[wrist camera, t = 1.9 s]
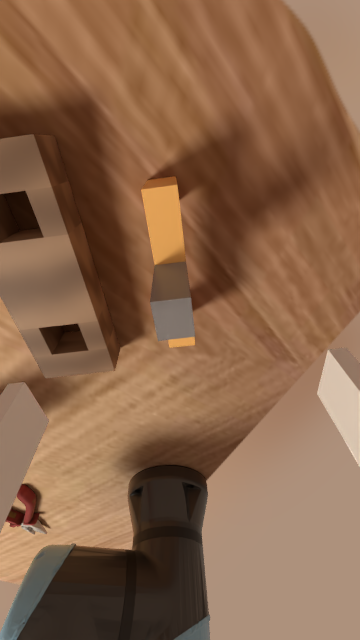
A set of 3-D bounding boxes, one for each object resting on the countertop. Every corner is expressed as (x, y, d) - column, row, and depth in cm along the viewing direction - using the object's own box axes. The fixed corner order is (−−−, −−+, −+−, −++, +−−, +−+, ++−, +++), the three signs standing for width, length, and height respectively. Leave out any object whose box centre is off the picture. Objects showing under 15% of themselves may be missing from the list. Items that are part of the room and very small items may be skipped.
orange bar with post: (191, 312, 31) (201, 392, 21) (169, 314, 31) (169, 396, 21) (175, 176, 23) (180, 199, 13) (147, 180, 23) (130, 206, 13)
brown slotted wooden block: (120, 348, 33) (114, 370, 30) (57, 355, 34) (45, 378, 30) (54, 135, 21) (33, 134, 18) (-42, 149, 22) (-81, 150, 18)
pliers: (18, 529, 62) (13, 543, 60) (-30, 486, 51) (-39, 502, 49) (66, 524, 62) (63, 538, 60) (28, 480, 51) (22, 495, 49)
